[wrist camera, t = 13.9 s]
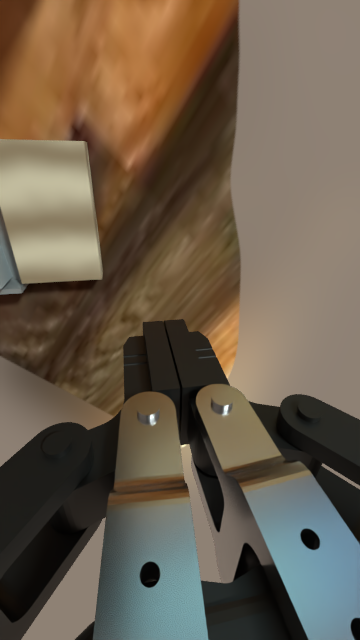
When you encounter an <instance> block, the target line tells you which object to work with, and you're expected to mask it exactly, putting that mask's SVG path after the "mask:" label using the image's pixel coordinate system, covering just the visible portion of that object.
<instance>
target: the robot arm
mask: <svg viewBox="0 0 360 640" xmlns="http://www.w3.org/2000/svg"><path fill="white" fill-rule="evenodd" d="M123 350H124V397H125V399H124V404H123V407H122V409H121V410H120V412H119V413H118V414H117V415H116V416H115V417H114V418H113V419H111V420H110V421H108V422H107V423H105V424H102V425H100V426H97V427H95V428H93V429H90V430H87V429H86V428H85V427H83V426H82V425H80V424H77V423H72V422H66V423H59V424H55V425H53V426H50V427H48V428H46V429H45V430H43V431H41V432H40V433H39V434H37V435H36V436H35V437H34V438H33V439H32V440H31V441H29V442H28V443H27V444H26V445H25V446H24V447H22V448H21V449H20V450H19V451H18V452H17V453H16V454H14V455H13V456H12V457H11V458H10V459H9V460H8V461H7V462H5V463H4V464H3V465H2V466H1V467H0V640H21V639H22V637H23V636H24V634H25V633H26V631H27V630H28V629H29V627H30V626H31V624H32V623H33V621H34V620H35V618H36V617H37V615H38V614H39V613H40V611H41V610H42V608H43V607H44V605H45V604H46V602H47V601H48V599H49V598H50V597H51V595H52V594H53V592H54V591H55V589H56V588H57V586H58V585H59V584H60V582H61V581H62V579H63V578H64V576H65V575H66V573H67V572H68V570H69V569H70V567H71V566H72V565H73V563H74V562H75V560H76V558H77V557H78V556H79V554H80V553H81V551H82V550H83V549H84V547H85V546H86V544H87V543H88V541H89V540H90V538H91V537H92V536H93V534H94V532H95V531H96V530H97V528H98V527H99V525H100V523H101V521H102V519H103V518H105V517H106V521H105V531H104V540H103V549H102V559H101V569H100V578H99V587H98V597H97V606H96V615H95V621H94V622H93V623H91V624H90V625H89V626H88V627H87V628H86V629H85V630H84V631H83V632H82V633H81V634H80V635H79V636H78V637H77V638H76V639H75V640H360V490H359V489H358V488H356V487H355V486H353V485H351V484H349V483H348V482H346V481H345V480H343V479H341V478H340V477H338V476H337V475H335V474H333V473H332V472H330V471H329V470H327V469H325V468H324V467H322V466H321V465H322V463H324V464H325V465H327V466H329V467H330V468H332V469H333V470H335V471H337V472H338V473H340V474H342V475H343V476H345V477H347V478H348V479H350V480H351V481H353V482H355V483H356V484H358V485H360V420H359V419H357V418H355V417H353V416H350V415H349V414H347V413H344V412H342V411H341V410H339V409H337V408H335V407H332V406H330V405H328V404H326V403H324V402H322V401H320V400H318V399H316V398H314V397H311V396H307V395H301V394H298V395H297V394H295V395H290V396H288V397H286V398H285V399H284V400H283V401H282V403H281V405H280V407H276V406H269V405H262V404H256V403H253V402H250V401H248V400H247V399H246V397H245V396H244V395H243V394H242V393H241V392H240V391H239V390H238V389H236V388H234V387H232V386H230V384H229V382H228V380H227V378H226V376H225V374H224V372H223V370H222V368H221V365H220V363H219V361H218V359H217V357H216V355H215V353H214V351H213V350H212V347H211V344H210V342H209V340H208V338H206V337H205V336H204V335H202V334H201V333H200V332H199V331H197V332H189V331H188V329H187V326H186V324H185V321H184V320H183V319H181V320H167V321H164V322H163V321H154V322H143V336H135V337H129V338H128V340H127V341H126V343H125V344H124V346H123ZM179 440H180V441H179ZM184 444H190V449H191V453H192V461H191V466H192V471H193V475H194V478H195V481H196V484H197V487H198V490H199V494H200V497H201V500H202V503H203V507H204V510H205V513H206V516H207V520H208V522H209V526H210V529H211V532H212V536H213V540H214V545H215V552H216V560H217V566H218V571H219V575H220V579H221V582H222V583H216V582H207V581H201V580H200V571H199V564H198V556H197V549H196V541H195V533H194V526H193V518H192V511H191V503H190V496H189V491H188V486H187V484H186V483H185V480H184V474H183V466H182V458H181V449H180V445H184Z"/></svg>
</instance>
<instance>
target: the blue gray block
mask: <svg viewBox="0 0 360 640" xmlns="http://www.w3.org/2000/svg"><path fill="white" fill-rule="evenodd" d="M12 277H13V276H12V273H11V271H10V268H9V265H8V262H7V260H6V257H5V254H4V251H3V249H2V246H1V244H0V289H2V288H3V287H4V286H5V285H6V283H7V282H8V281H9V280H10V279H11V278H12Z"/></svg>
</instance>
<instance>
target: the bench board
mask: <svg viewBox="0 0 360 640" xmlns="http://www.w3.org/2000/svg"><path fill="white" fill-rule="evenodd" d="M0 207H1V211H2V214H3V218H4V221H5V225H6V229H7V232H8V236H9V239H10V243H11V246H12V250H13V253H14V257H15V261H16V264H17V268H18V271H19V275H20V278H21V282H22V284H26V283H44V282H62V281H80V280H98V279H102V275H103V267H102V259H101V252H100V244H99V236H98V228H97V220H96V212H95V204H94V196H93V188H92V181H91V173H90V165H89V157H88V149H87V142H84V141H51V140H8V139H0Z"/></svg>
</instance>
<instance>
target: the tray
mask: <svg viewBox="0 0 360 640" xmlns="http://www.w3.org/2000/svg"><path fill="white" fill-rule="evenodd" d="M0 244H1V246H2V249H3V251H4V254H5V257H6V260H7V262H8V265H9V268H10V271H11V273H12V276H13V277H12V278H11V279H10V280H9V281H8V282H7V283H6V285H5V286H4V287H3V288H2V289H0V295H1V294H18V293H23V291H24V290H25V288H26V287H27V285H28V284H29V283H26V284H22V282H21V278H20V275H19V271H18V268H17V264H16V261H15V257H14V253H13V250H12V246H11V243H10V239H9V236H8V232H7V229H6V225H5V221H4V218H3V214H2V211H1V207H0Z"/></svg>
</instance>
